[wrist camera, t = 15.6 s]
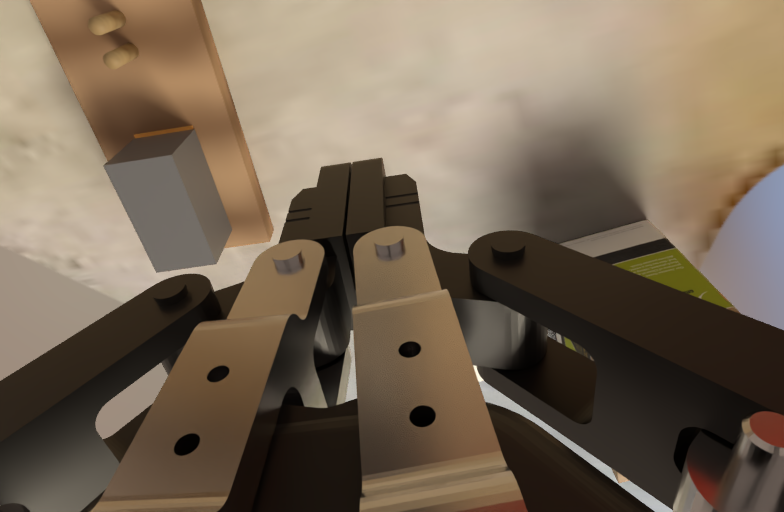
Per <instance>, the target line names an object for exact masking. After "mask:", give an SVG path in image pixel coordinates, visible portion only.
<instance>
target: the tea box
mask: <svg viewBox="0 0 784 512" xmlns="http://www.w3.org/2000/svg"><path fill="white" fill-rule="evenodd" d="M560 245H562V246H565V247H567V248H570V249H573V250H575V251H578V252H580V253H583V254H586V255H588V256H591V257H593V258H596V259H599V260H601V261H604V262H607V263H609V264H612V265H614V266H617V267H620V268H622V269H625V270H627V271H630V272H633V273H635V274H638V275H641V276H643V277H646V278H648V279H651V280H654V281H656V282H659V283H661V284H664V285H667V286H669V287H672V288H674V289H677V290H680V291H682V292H685V293H688V294H690V295H693V296H695V297H698V298H701V299H703V300H706V301H708V302H711V303H714V304H716V305H719V306H722V307H724V308H727V309H729V310H732V311H735V312H737V313H740V312H739V311H738V310H737V309H736V308H735V307H734V306H733V305H732V304H731V303H730V302H729V301H728V300H727V299H726V298H725V297H724V296H723V295H722V294H721V293H720V292H719V291H718V290H717V289H716V288H715V287H714V286H713V285H712V284H711V283H710V282H709V281H708V279H707V278H706V277H705V276H704V275H703V274H702V273H701V272H700V271H699V270H698V269H696V268H695V267H694V266H693V265H692V264H691V263H690V262H689V261H688V260H687V258H686V257H685V256H684V255H683V254H682V253H681V252H680V251H679V250H678V249H677V248H676V247H675V246H674V245H672V243H670V242H669V240H668V239H667V238H666V237H665V236H664V235H663V234H662V233H661V232H660V231H659V230H658V229H657V228H656V227H655V226H654V225H653V224H652V223H651V222H650V221H649V220H643V221H640V222H636V223H632V224H628V225H624V226H621V227H617V228H614V229H610V230H606V231H603V232H599V233H596V234H592V235H588V236H585V237H581V238H578V239H574V240H571V241H567V242H563V243H560ZM740 314H741V313H740ZM556 337H557V342H559V343H561V344H563V345H565V346H567V347H568V348H570V349H572V350H574V351H576V352H578V353H580V354H581V355H583V356H585V357H587V358H589V359H591V360H593V358H592V357H591V356H590V354H589V353H588V352H587V351H586V350H585V349H584V348H583V347H581V346H580V345H578V344H577V343H575V342H573V341H571V340H569V339H567V338H565V337H563V336H561V335H560V334H558V333H556ZM593 361H594V360H593ZM612 471H613V473H614V475H615V477H616V479H617V481H618V483H621V482H625V481H629V480H628V479H627V478H625V477H624V476H622V475H621V474H619V473H618V472H616V471H615V470H614V469H612Z"/></svg>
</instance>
